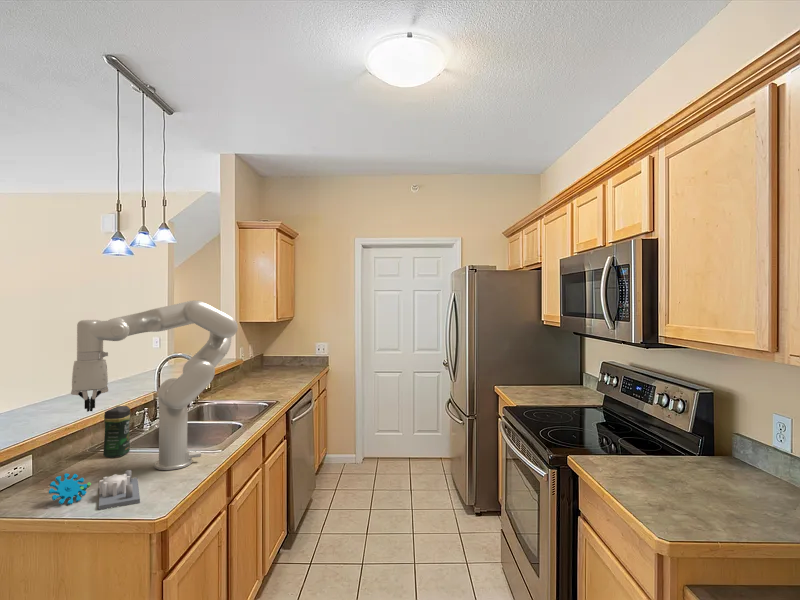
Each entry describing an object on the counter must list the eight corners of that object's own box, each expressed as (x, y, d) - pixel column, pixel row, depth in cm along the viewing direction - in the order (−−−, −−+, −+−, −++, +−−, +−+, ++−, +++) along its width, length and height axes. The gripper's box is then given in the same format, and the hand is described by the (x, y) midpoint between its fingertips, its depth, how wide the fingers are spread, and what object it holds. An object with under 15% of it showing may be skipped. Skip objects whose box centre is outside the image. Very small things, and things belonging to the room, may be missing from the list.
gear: (51, 505, 142) (48, 474, 147) (44, 516, 144) (41, 485, 149) (94, 498, 150) (89, 469, 156) (87, 509, 152) (82, 480, 158)
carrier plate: (137, 481, 165) (137, 465, 165) (139, 502, 148) (139, 485, 148) (100, 487, 160) (100, 470, 160) (98, 510, 142) (98, 492, 142)
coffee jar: (122, 458, 188) (122, 409, 188) (100, 458, 188) (100, 410, 188) (133, 450, 198) (133, 404, 198) (112, 450, 197) (112, 404, 197)
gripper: (115, 354, 174) (115, 406, 174) (64, 356, 166) (64, 410, 166) (115, 356, 167) (115, 410, 167) (62, 358, 160) (62, 415, 160)
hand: (89, 410), depth 167 cm, fingers closed
